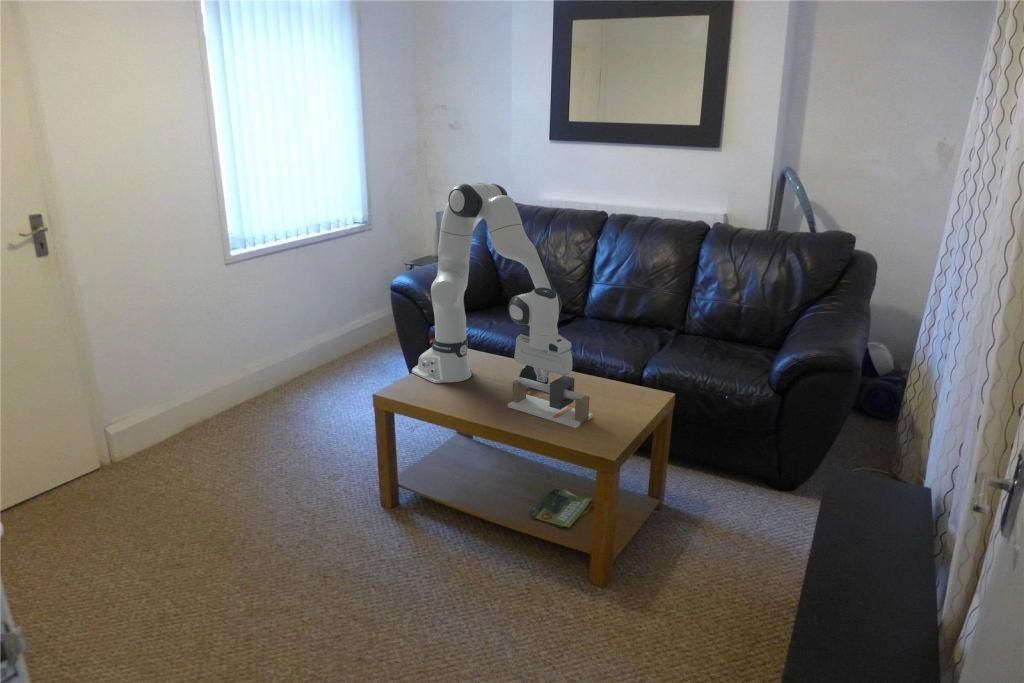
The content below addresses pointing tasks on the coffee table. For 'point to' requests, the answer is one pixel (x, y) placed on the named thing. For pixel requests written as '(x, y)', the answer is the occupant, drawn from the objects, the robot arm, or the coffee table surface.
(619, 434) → the coffee table surface
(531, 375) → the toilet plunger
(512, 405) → the rail
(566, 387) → the collar
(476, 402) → the coffee table surface
